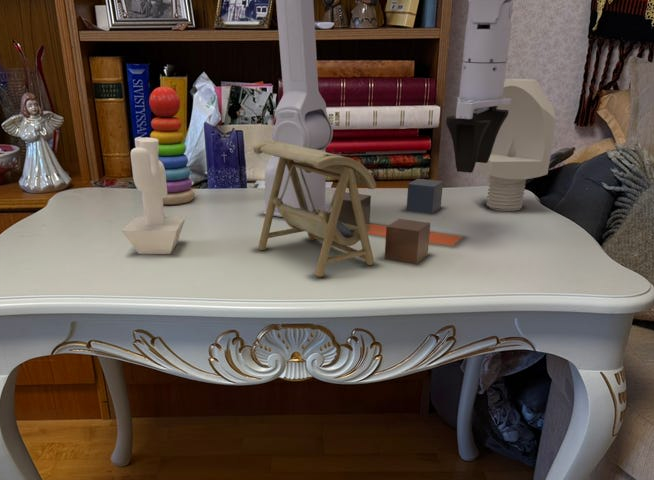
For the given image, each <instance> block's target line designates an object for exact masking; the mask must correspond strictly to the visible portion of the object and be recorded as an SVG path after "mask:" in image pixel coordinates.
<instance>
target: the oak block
mask: <svg viewBox="0 0 654 480" xmlns="http://www.w3.org/2000/svg"><path fill="white" fill-rule="evenodd" d="M359 197H360V201H361V206H362V210H363V215H364V219H365V224H371V204H372V203H371V201H372V195H370V194H364V193H359ZM332 205H333V203H332ZM338 221H340V222H342V223H344V224H350V225H354V226H357V223H356V219H355V215H354V210H353V206H352V202H351V199H350V194H349V192H346V191H345V195H344V198H343V202H342V206H341V210H340V214H339V217H338Z"/></svg>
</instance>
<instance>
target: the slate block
mask: <svg viewBox="0 0 654 480" xmlns="http://www.w3.org/2000/svg"><path fill="white" fill-rule="evenodd" d="M443 187H444V181H443V180H436V179H435V180H433V179H424V178H416V179H415V180H413V181H411V182H409V183H408V184H407V195H406V196H407V197H406V212H415V213H423V214H429V215H432V214H434V213H436V212H437V211H438V210H440V209H441V208H442V197H443Z"/></svg>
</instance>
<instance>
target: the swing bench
mask: <svg viewBox="0 0 654 480" xmlns="http://www.w3.org/2000/svg"><path fill="white" fill-rule="evenodd" d="M252 149H253V152H254V153H255V154H257V155H260V154H261V155H262V154H265V155H269V156H272V157H275V156H276V157H280V158H279V162H278V166H277V170H276V175H275V179H274V183H273V187H272V191H271V195H270V199H269V203H268V207H267V211H266V210H265V211H266V215H265V214H264V220H263V224H262V229H261V233H260V237H259V243H258V250H260V251H265V250H266V249H267V245H268V240H269V239H271V238H277V237H282V236H287V235H293V234H298V233H303V232H306V233H307V236H308V239H309V240H310V241H314V240H318V241H321V242H322V244H321V249H320V253H319V256H318V259H317V264H316V268H315V273H314V274H315V276H316V277H319V278H321V277H323V276H324V273H325V270H326V266H327V264H329V263H333V262H340V261H343V260H348V259H353V258H356V257H357V258H360V259H362V260H364V261H365V264H366V265H367V266H373V265H374V263H375V259H374V255H373V251H372V245H371V242H370V237H369V234H368V233H367V232H368V231H369V230H370V225H369V224H365V219H364V215H363V210H362V206H361V201H360V197H359V194H360V192H359V188H358V184H359V185H360V186H365V188H366V189H368V190H369V189H370V190H375V189H376V188H377V183H376V180H375V179H374V177H373V174H371V172H370V170H369V169H368V168H367V167H365V166H364V165H363V164H362V163H360V162H359V161H358V160H356V159H353V158H351V157H346V156H342V155H339V154H334V153H330V152H326V151H325V152H324V151H320V150H315V149H310V148H304V147H301V146H296V145H292V144H287V143H283V142H277V141H273V140H270V141H264V142H261V143H258V144H256V145H254V146H253V147H252ZM293 160H295V161H299V162H300V163H296V162H294V161H293ZM286 165H287V168H288V171H289V173H288V177H287V180H286V184H285V187H284V189H283V192H282V195H281V197H280V198H278V195H279V191H280V187H281V183H282V179H283V174H284V170H285V166H286ZM295 167H297V168H299V169H300V172H301V176H302V178H303V181H304V184H305V186H306V189H307V192H308V195H309V198H310V201H311V204H312V207H313V211H312V212H310V211H309V210H308V207H307V203H306V200H305V197H304V193H303V190H302V187H301V184H300V180H299V177H298V173H297V170H296V168H295ZM302 169H304V171H305V172H307V173H311V172H314V173H318V174H321V175H325V176H326V177H329V178H333V179H337V180H338V182H337V185H336V186H335V189H334V193H333V195H332V198H331V201H330V203H329V206H328V207H329V208H328V210H327V212H326V211H320V210H318V209H315V207H314V204H313V201H312V198H311V195H310V192H309V189H308V186H307V184H306V180H305V177H304V175H303V172H302ZM290 177H291V180H292V183H293V187H294V190H295V193H296V196H297V199H298V203H299V206H300V208H294V207H292V206H289V205H287V204H284V203H283V202H282V198H283V196H284V193H285V191H286V188H287V185H288V182H289V178H290ZM347 188H348V193H349V194H350V199H351V202H352V206H353V210H354V215H355V219H356V223H357V226H354V225H350V224H344V223H342V222H340V221H338V217H339V214H340V210H341V206H342V202H343V198H344V195H345V192H346V191H347ZM332 203H333V205H332ZM275 207H276V208H277V209H278V211H279V212H280V214H281V215H282V217H281V218H283V220H284V221H285V222H286V224H287V225H288V226H289V227H290V228H287V229H282V230H277V231H271V232H270V230H271V227H272V223H273V218H274V216H273V215H274V210H275ZM331 207H332V209H331V213H329V210H330V208H331ZM359 241H360V244H361V248H362V249H360V250H359V249H356V248H353V247H351V246H354V245H355V244H357V243H358V242H359ZM331 247H334V248H337V249H339V250H341V251H343V252H345V253H341V254H336V255H335V254H334V255H330V251H331Z"/></svg>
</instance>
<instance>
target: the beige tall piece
mask: <svg viewBox="0 0 654 480" xmlns="http://www.w3.org/2000/svg"><path fill="white" fill-rule="evenodd" d="M502 97H503V98H511V103H510V104H509V105H500V107H498V108H497V109H500V110H508V111H509V112H508V116H507V117H506V119H505V120H504V122H503V124H502V126H501V127H500V130H499V132H498V134H497V137H496V139H495V142H494V146H493V149H492V152H491V155H490V158H489V160H488V162H487V163H480V162H476V164H475V167H474V168H475V169H476V170H477V172H478V173H479V174H481V175H482V176H485V177H489V180H490V181H488V183H489V185H488V189H487V199H486V206H487V207H488V208H490V209H492V210H495V211H502V212H515V211H519V210H521V209H522V207H523V205H524V204H523V203H524V198H525V197H524V195H525V191H526V189H525V188H526V184H527V180H528V179H530V180H531V179H534V178H535V179H536V178H540V177H543V176H547V175H548V174H549V168H550V161H551V155H552V149H553V143H554V137H555V131H556V124H557V117H556V113H555V110H554V107H553V105H552V103H551V101H550V100H549V97H548V96H547V94H546V93H545V91H544V89H543V88H542V87H541V84H540V83H539V81H538V80H537V79H535V78H505V79H504V87H503V95H502Z"/></svg>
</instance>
